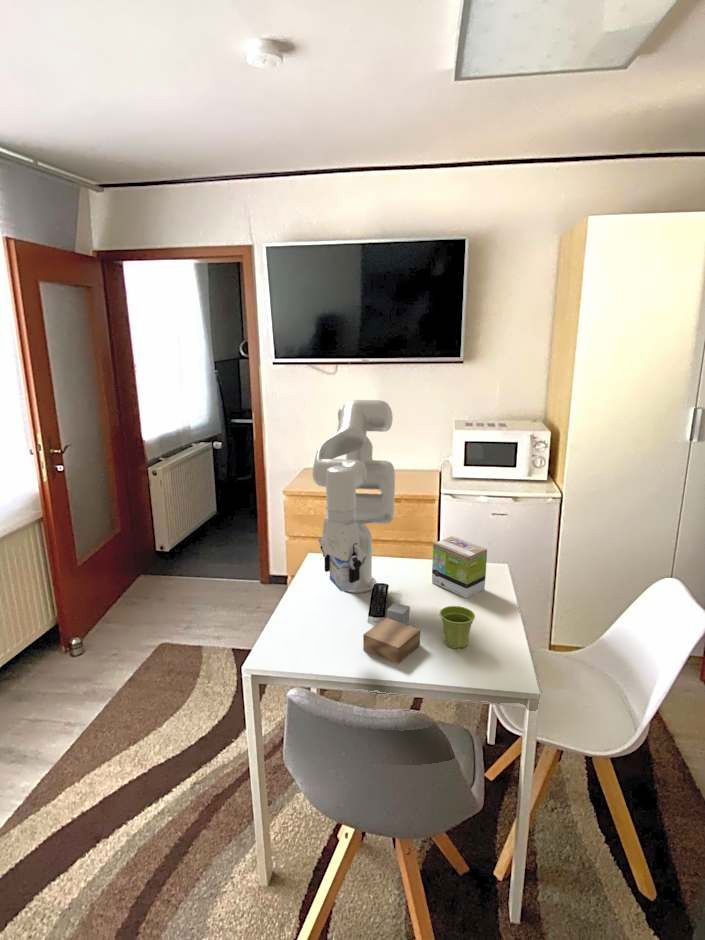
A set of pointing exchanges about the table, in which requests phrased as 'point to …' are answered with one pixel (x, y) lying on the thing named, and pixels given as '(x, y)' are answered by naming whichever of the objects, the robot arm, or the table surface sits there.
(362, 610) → the table surface
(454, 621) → the plant pot
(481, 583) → the tea box
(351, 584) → the medicine box
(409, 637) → the walnut block
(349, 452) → the robot arm
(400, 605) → the grey cube
